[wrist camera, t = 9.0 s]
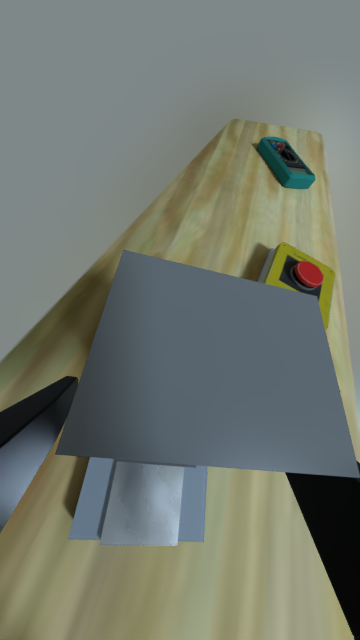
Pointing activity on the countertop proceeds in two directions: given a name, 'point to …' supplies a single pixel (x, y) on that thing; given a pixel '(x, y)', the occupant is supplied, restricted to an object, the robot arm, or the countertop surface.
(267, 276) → the emergency button
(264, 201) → the countertop surface
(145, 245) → the countertop surface
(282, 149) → the digital multimeter
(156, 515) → the steel rail
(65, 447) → the block
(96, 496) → the rail board
